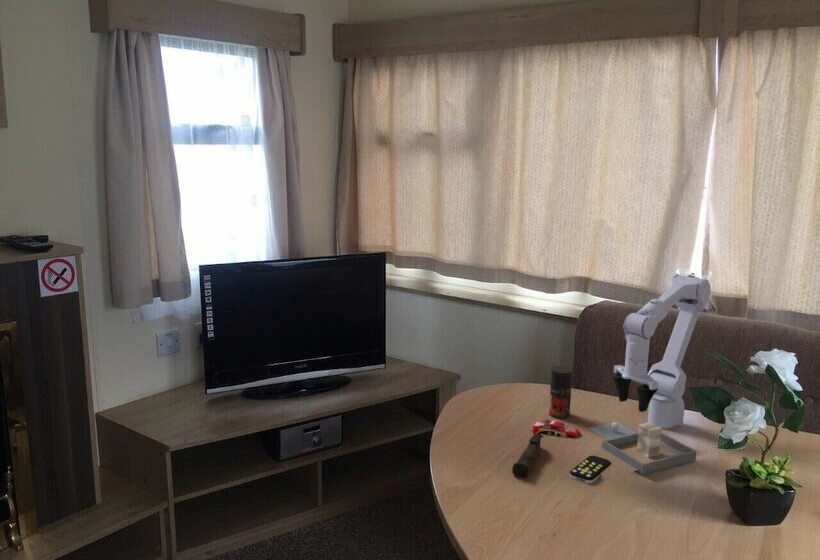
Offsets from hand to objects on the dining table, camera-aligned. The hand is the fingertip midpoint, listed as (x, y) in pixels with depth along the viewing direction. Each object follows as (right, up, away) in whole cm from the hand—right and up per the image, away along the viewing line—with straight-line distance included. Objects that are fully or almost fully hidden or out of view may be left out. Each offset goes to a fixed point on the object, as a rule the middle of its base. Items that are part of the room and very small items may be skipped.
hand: (632, 405), depth 198 cm
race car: (-20, -10, +6) cm, 23 cm away
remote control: (-15, -15, -14) cm, 25 cm away
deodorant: (-16, -7, +17) cm, 25 cm away
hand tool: (-30, -13, -9) cm, 34 cm away
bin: (+2, -12, -6) cm, 14 cm away
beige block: (+2, -12, -6) cm, 13 cm away
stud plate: (-3, -9, +6) cm, 12 cm away
